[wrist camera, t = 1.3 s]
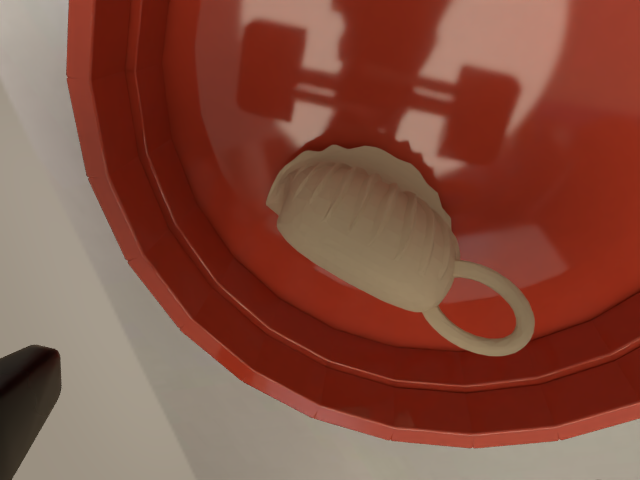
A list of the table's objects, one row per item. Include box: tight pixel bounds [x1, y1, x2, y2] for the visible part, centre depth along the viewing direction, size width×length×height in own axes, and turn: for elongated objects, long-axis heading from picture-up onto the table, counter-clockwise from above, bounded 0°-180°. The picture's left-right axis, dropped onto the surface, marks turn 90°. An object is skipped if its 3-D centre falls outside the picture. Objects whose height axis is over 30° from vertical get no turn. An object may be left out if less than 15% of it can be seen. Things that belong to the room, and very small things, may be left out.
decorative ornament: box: [266, 145, 535, 356], centre depth 16 cm, size 4×8×5 cm, turn 59°
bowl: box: [66, 0, 640, 448], centre depth 15 cm, size 21×21×4 cm
